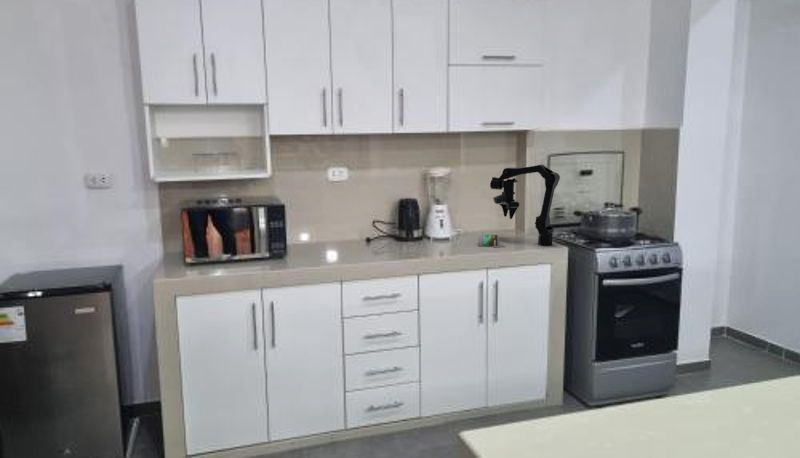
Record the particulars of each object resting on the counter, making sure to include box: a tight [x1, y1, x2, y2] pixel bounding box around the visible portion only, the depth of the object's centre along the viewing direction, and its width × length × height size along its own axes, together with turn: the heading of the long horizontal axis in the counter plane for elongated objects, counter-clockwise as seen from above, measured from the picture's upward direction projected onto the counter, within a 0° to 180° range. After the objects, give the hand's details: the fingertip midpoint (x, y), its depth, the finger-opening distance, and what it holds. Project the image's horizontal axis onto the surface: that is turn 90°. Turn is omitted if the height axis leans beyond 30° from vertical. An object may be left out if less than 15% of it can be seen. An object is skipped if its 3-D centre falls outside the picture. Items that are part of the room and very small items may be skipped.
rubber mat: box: [491, 241, 506, 249], centre depth 321 cm, size 6×12×1 cm, turn 9°
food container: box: [477, 232, 499, 248], centre depth 322 cm, size 12×6×10 cm
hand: (508, 217), depth 333 cm, fingers open, 9 cm apart
